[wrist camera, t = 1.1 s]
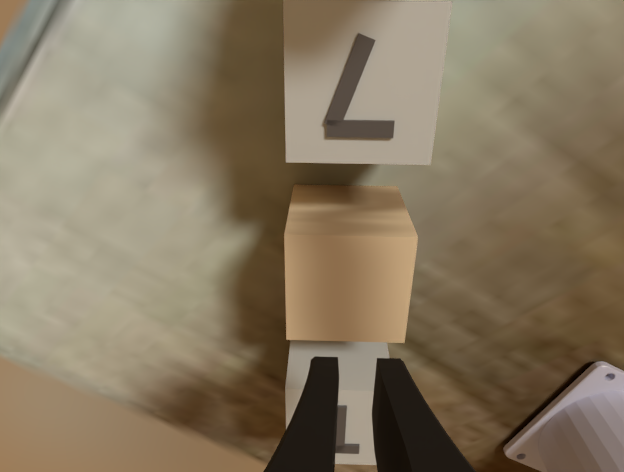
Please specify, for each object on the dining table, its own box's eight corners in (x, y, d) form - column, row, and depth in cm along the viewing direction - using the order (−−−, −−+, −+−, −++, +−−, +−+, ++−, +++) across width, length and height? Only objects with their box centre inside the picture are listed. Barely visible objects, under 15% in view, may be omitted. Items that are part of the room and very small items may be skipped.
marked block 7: (417, 4, 16) (453, 1, 12) (405, 127, 18) (431, 166, 14) (294, 3, 16) (282, -1, 12) (295, 126, 18) (285, 163, 14)
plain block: (397, 185, 19) (418, 237, 15) (388, 274, 21) (404, 342, 17) (293, 183, 20) (284, 234, 15) (294, 272, 22) (286, 339, 17)
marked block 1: (381, 316, 23) (396, 393, 18) (375, 383, 25) (386, 467, 20) (293, 314, 23) (284, 391, 18) (293, 380, 25) (286, 464, 20)
